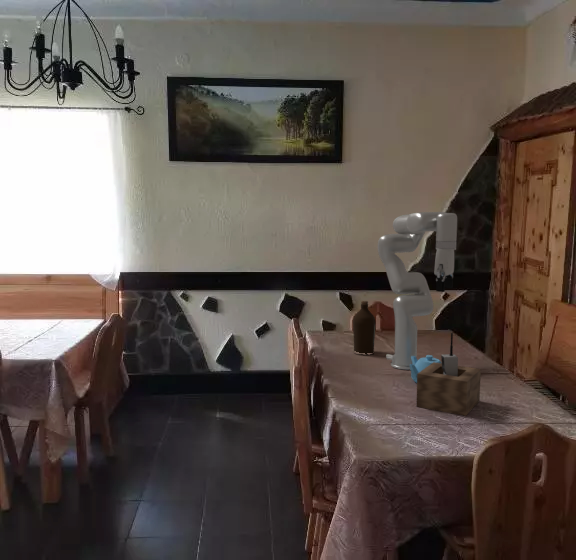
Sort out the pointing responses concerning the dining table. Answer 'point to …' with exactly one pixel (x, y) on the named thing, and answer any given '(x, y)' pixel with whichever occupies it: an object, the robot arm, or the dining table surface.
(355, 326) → the olive oil
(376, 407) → the dining table surface
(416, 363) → the teapot
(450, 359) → the vintage mobile phone
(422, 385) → the well block
